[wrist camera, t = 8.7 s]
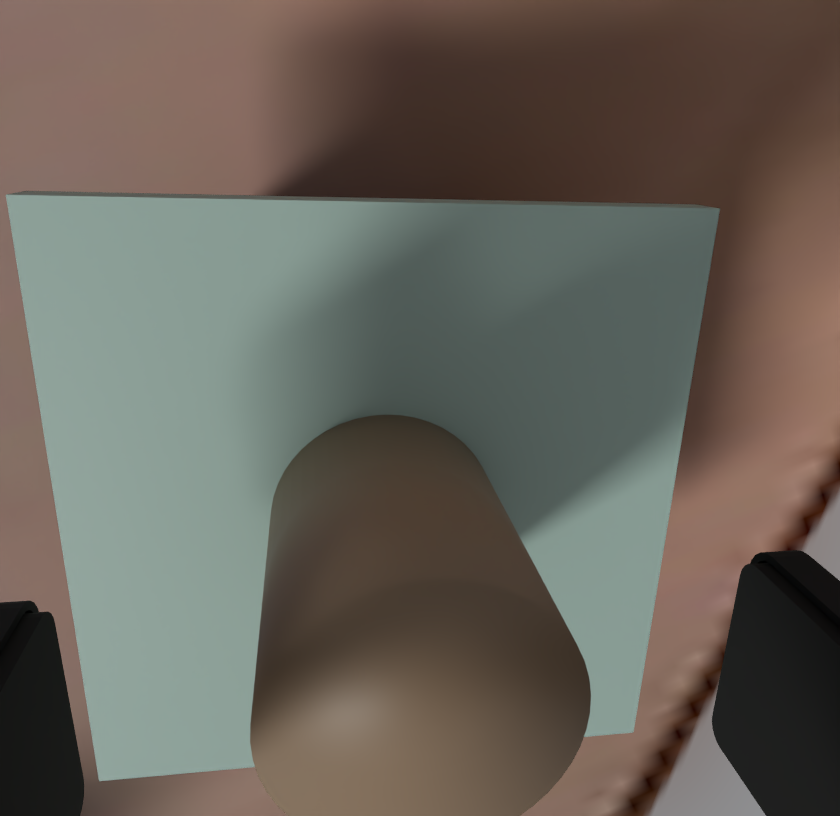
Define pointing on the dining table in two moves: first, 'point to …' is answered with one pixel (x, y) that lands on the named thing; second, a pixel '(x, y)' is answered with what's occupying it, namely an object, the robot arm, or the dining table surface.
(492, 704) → the lid
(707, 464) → the dining table surface
